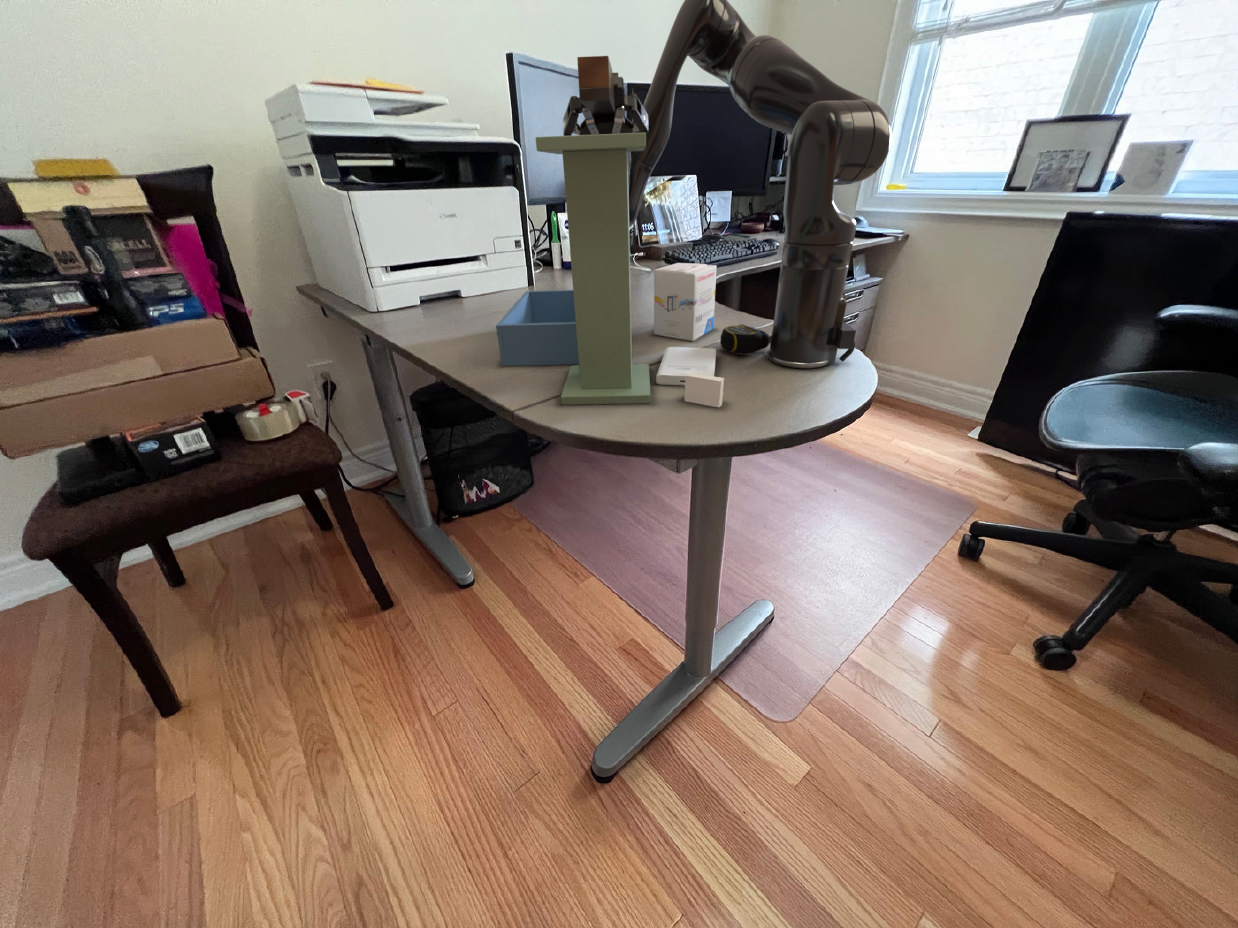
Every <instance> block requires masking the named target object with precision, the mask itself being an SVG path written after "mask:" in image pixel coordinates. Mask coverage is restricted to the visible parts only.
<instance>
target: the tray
mask: <svg viewBox="0 0 1238 928" xmlns="http://www.w3.org/2000/svg"><path fill="white" fill-rule="evenodd" d="M495 330H496V335H497V341H498V350H499V354H500V360H501V366H502V367H516V366H517V367H518V366H519V367H521V366H562V365H563V366H565V365H566V366H567V365H570V366H571V365H579V357H578V345H577V332H576V319H575V306H574V294H573V289H554V290H553V289H551V290H526V291H524V293H523V294H522V295H521V296H520V298H518V299H517V301H516V302H515V303H514V304H513V305H512V306H511V307H510V309H508V311H507V312H506V313H505V314H504V316H502V317H501V319H500V320H499V321H498V322H497V323H496V325H495Z"/></svg>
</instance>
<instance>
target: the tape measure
mask: <svg viewBox="0 0 1238 928" xmlns="http://www.w3.org/2000/svg"><path fill="white" fill-rule="evenodd" d="M769 337H770V335H769V333H767V332H765V331H763V330H761V329H758V328H756V327H752V326H749V325H746V324H738V325H729V326H726V327H724V328H723V329H722V332H721V334H720V340H719V341H720V343H719V344H720V346H721V348H722V349H723V350H724V351H727V352H729V353H732V354H735V355H738V356H739V355H741V354H743V355H748V354H754V353H756V352H759V351H761V350H764V349H766V348H768V346H770V343H769Z"/></svg>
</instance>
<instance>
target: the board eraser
mask: <svg viewBox="0 0 1238 928" xmlns="http://www.w3.org/2000/svg"><path fill="white" fill-rule="evenodd" d="M576 59H577V75H578V92H579V96H578V97H580V102H581V103H582V104H583V105H584V106H585V107H586V108H587V109H588V110H589V111H590V112H591V113H592V114H595V115H608V114H615V112H616V106H615V99H614V75H613V73H614V71H613V67H612V63H611V61H610V57H609V55H596V56H595V55H593V56H592V55H591V56H577V58H576Z"/></svg>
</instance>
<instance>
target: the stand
mask: <svg viewBox="0 0 1238 928" xmlns="http://www.w3.org/2000/svg"><path fill="white" fill-rule="evenodd" d="M535 146H536V152H540V153H545V154H546V153H548V154H554V155H562V166H563V167H562V168H563V178H564V189H565V205H566V216H567V217H566V218H567V227H568V228H567V229H568V242H569V255H570V256H569V257H570V267H571V281H572V290H573V294H574V306H575V319H576V332H577V345H578V357H579V364H576V365H570V367H569V370H568V373H567V376H566V380H565V382H564V384H563V385H564V386H563V389H562V392H561V395H560V404H561V405H562V406H570V405H571V406H573V405H574V406H575V405H621V404H622V405H623V404H624V405H626V404H627V405H628V404H630V405H633V404H634V405H635V404H651V382H650V365H649V363H635V364H634V363H633V348H632V346H633V345H632V344H633V342H632V339H633V338H632V297H631V296H632V295H631V294H632V293H631V291H632V289H631V288H632V287H631V243H630V242H631V241H630V227H629V187H628V151H644V149H645V147H646V133H621V134H597V135H578V134H572V135H571V136H564V135H554V136H553V135H552V136H551V135H550V136H549V135H548V136H536V137H535Z"/></svg>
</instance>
